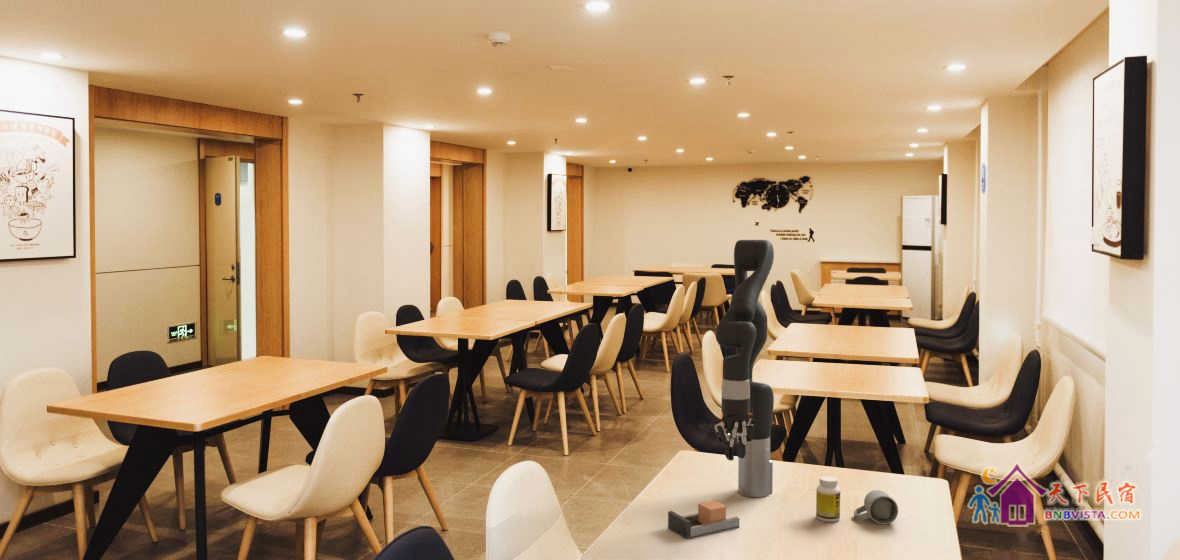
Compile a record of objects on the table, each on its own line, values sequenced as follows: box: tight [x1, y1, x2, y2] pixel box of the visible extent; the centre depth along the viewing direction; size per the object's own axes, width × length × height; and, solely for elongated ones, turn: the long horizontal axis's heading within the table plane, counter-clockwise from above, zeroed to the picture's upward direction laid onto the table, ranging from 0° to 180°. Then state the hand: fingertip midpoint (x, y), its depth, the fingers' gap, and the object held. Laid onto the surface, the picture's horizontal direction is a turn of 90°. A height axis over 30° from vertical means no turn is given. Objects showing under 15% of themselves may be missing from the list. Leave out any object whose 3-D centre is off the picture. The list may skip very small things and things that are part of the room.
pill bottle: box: [815, 475, 841, 523], centre depth 215 cm, size 6×6×11 cm
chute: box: [667, 510, 740, 540], centre depth 209 cm, size 17×9×4 cm, turn 118°
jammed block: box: [697, 499, 727, 524], centre depth 210 cm, size 5×6×5 cm
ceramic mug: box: [853, 489, 899, 526], centre depth 214 cm, size 11×8×8 cm
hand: (735, 458), depth 213 cm, fingers open, 3 cm apart
